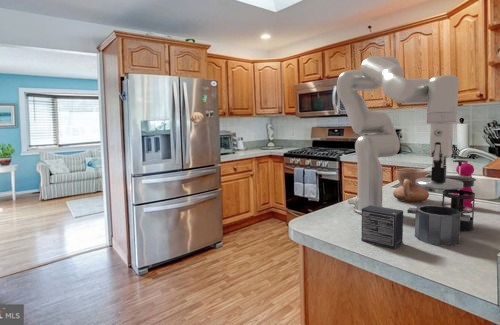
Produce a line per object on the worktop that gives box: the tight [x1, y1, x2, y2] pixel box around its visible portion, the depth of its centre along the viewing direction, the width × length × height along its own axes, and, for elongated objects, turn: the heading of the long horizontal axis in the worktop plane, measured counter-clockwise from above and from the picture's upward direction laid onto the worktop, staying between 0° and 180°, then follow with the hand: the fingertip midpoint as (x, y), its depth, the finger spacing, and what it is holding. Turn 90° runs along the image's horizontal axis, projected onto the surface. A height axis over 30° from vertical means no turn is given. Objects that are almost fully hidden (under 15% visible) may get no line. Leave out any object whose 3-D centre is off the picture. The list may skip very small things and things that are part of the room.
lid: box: [415, 166, 463, 191], centre depth 92 cm, size 12×12×6 cm
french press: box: [441, 159, 476, 232], centre depth 102 cm, size 12×9×23 cm
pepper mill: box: [452, 158, 475, 209], centre depth 124 cm, size 7×7×20 cm
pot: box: [406, 204, 471, 247], centre depth 94 cm, size 16×12×9 cm
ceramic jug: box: [392, 167, 430, 203], centre depth 137 cm, size 18×14×14 cm
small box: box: [360, 205, 404, 250], centre depth 93 cm, size 11×6×10 cm, turn 44°
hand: (438, 178), depth 92 cm, fingers closed on lid, 3 cm apart
